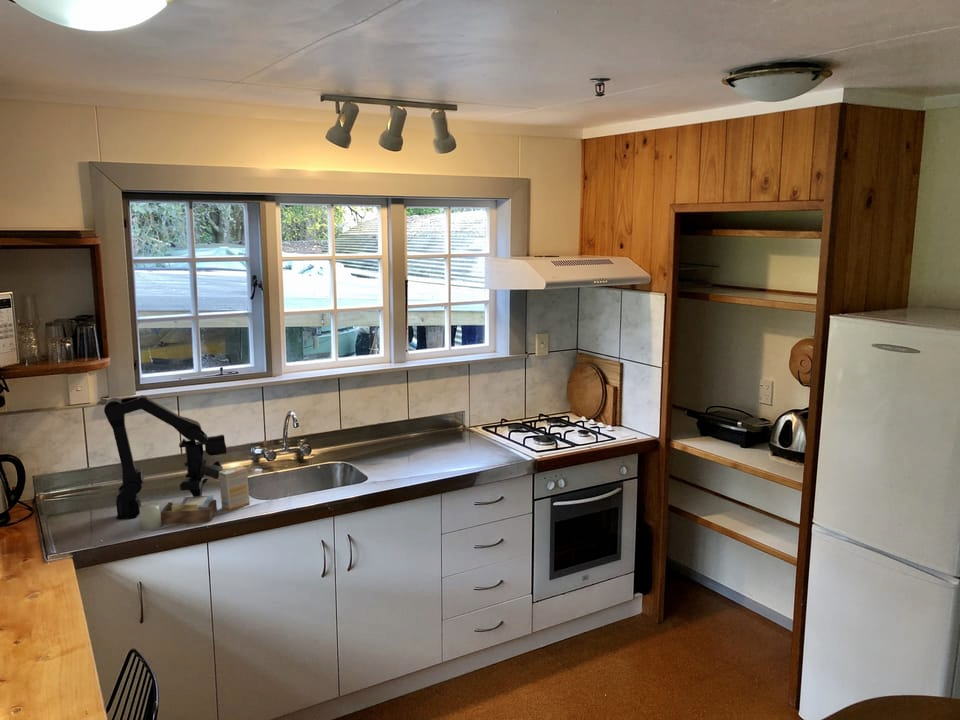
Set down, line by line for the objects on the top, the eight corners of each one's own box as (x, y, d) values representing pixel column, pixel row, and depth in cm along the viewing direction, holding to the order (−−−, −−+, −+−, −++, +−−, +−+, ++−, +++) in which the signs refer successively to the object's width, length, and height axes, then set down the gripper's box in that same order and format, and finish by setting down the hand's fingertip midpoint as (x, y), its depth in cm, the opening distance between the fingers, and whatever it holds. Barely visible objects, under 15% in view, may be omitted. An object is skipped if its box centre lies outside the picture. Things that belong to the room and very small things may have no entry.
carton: (178, 523, 246) (177, 508, 245) (186, 511, 257) (185, 496, 256) (207, 521, 247) (206, 506, 246) (214, 509, 258) (213, 495, 257)
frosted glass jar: (139, 531, 239) (136, 509, 238) (144, 524, 245) (142, 503, 244) (158, 529, 240) (156, 508, 239) (164, 522, 246) (162, 502, 245)
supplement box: (242, 501, 265) (239, 465, 262) (250, 504, 261) (247, 467, 259) (220, 508, 258) (218, 471, 256) (228, 511, 255) (226, 473, 253)
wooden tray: (161, 524, 244) (159, 506, 243) (169, 513, 254) (168, 496, 253) (210, 521, 246) (209, 503, 245) (217, 511, 255) (215, 494, 254)
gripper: (212, 464, 250) (216, 509, 253) (225, 449, 269) (228, 491, 271) (177, 466, 249) (181, 511, 252) (193, 450, 268) (196, 493, 270)
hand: (198, 501), depth 261 cm, fingers closed
